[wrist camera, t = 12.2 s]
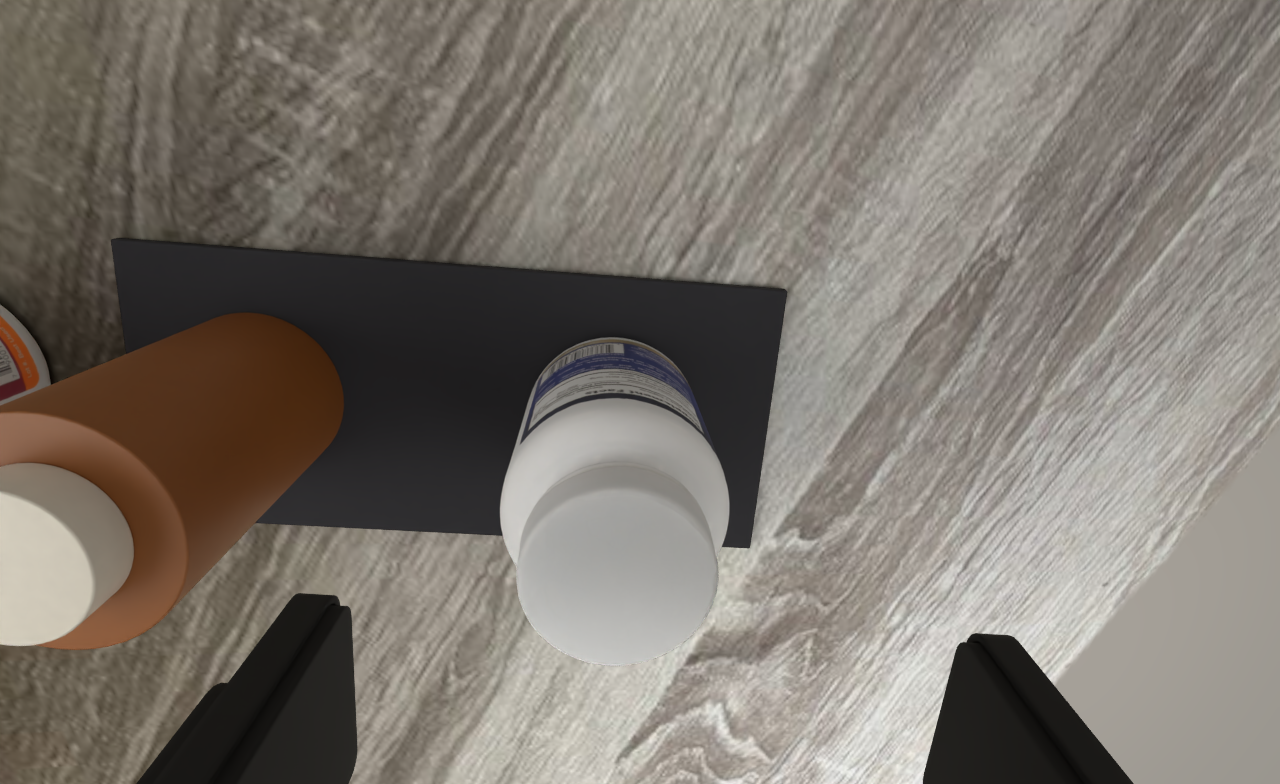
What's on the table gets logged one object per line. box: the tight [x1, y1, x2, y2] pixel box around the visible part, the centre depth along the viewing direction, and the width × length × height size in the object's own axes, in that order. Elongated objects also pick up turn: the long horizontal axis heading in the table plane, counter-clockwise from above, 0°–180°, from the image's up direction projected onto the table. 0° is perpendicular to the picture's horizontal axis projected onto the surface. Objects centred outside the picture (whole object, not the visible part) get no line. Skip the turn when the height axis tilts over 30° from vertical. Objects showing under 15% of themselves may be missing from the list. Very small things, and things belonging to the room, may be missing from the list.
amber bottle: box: [0, 313, 344, 650], centre depth 18 cm, size 5×5×10 cm
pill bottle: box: [500, 337, 729, 666], centre depth 19 cm, size 5×5×10 cm
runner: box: [111, 238, 787, 548], centre depth 23 cm, size 20×9×1 cm, turn 85°
